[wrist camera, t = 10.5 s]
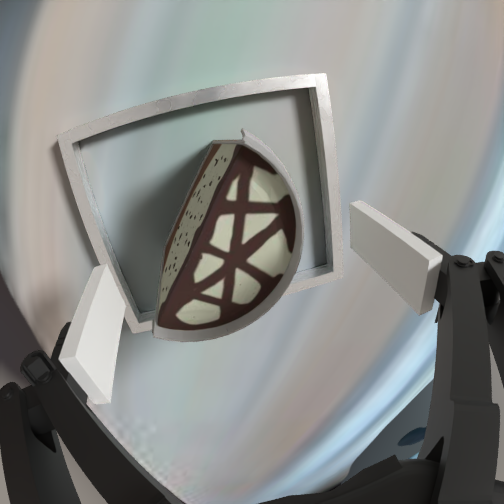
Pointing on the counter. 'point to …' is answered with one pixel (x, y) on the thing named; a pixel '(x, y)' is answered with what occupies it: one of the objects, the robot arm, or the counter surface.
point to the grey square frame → (311, 81)
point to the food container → (229, 244)
